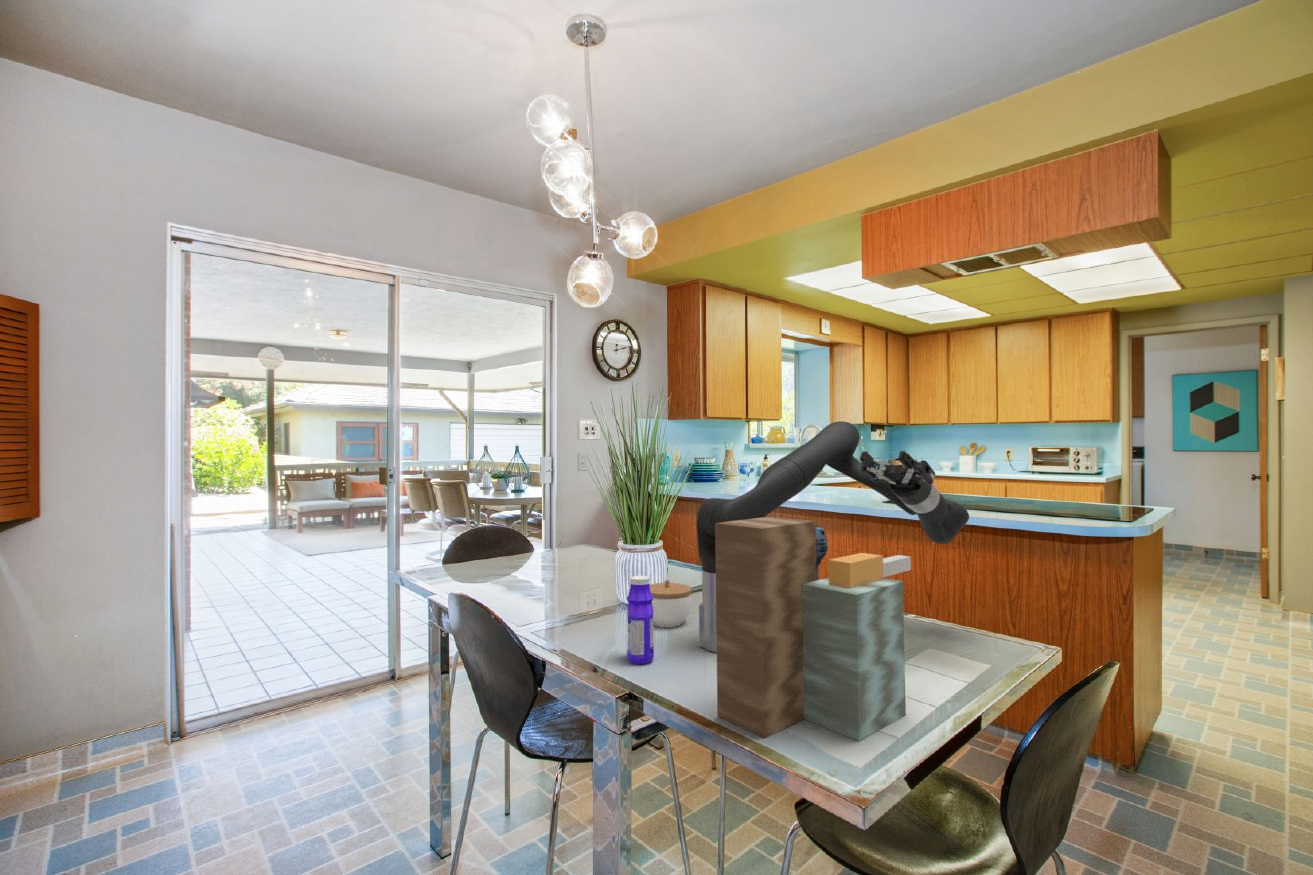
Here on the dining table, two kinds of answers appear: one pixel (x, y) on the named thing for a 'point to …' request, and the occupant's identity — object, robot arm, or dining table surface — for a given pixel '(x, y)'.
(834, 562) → the white and orange block
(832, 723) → the stand
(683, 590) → the lidded bowl
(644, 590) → the bottle
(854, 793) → the dining table surface
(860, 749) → the dining table surface
